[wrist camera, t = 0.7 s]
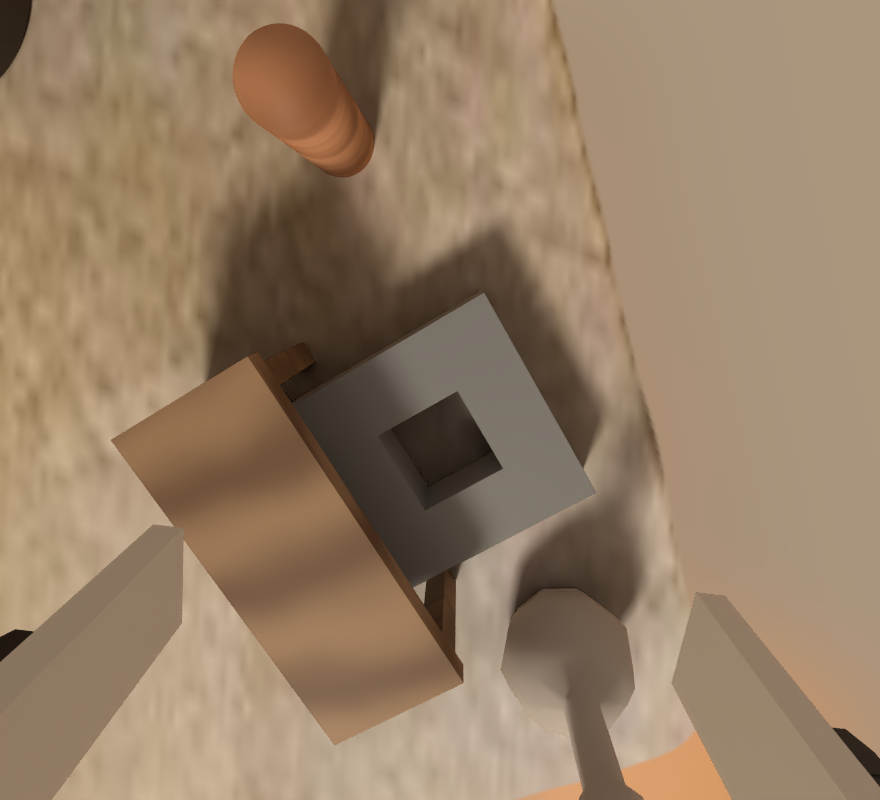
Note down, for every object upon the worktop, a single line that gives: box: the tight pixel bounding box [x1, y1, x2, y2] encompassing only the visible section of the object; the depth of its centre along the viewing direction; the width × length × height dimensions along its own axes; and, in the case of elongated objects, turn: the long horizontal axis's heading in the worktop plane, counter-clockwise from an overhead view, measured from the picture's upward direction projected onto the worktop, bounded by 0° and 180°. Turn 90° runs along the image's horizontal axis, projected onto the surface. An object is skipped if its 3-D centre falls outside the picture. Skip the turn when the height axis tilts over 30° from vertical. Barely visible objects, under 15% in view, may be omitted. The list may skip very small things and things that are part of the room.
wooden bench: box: [111, 342, 463, 745], centre depth 35 cm, size 21×8×10 cm, turn 31°
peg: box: [233, 23, 374, 177], centre depth 29 cm, size 4×4×12 cm
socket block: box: [292, 290, 596, 587], centre depth 37 cm, size 14×14×4 cm
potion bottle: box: [501, 588, 644, 800], centre depth 33 cm, size 9×9×18 cm
